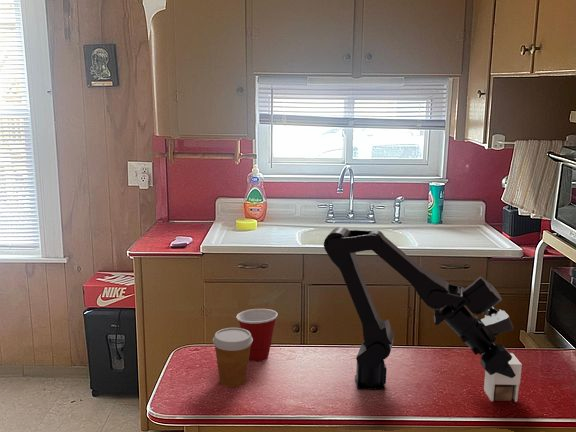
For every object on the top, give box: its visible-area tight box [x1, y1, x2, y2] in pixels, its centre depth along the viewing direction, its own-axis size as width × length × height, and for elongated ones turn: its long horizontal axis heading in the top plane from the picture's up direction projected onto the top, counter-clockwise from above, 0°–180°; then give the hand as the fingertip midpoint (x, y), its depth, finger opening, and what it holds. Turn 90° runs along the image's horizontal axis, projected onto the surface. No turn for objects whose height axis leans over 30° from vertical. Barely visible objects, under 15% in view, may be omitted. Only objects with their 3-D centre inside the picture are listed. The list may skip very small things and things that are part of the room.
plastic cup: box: [235, 308, 278, 362], centre depth 163 cm, size 11×11×12 cm
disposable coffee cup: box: [212, 327, 253, 388], centre depth 149 cm, size 10×10×12 cm
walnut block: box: [493, 384, 513, 402], centre depth 145 cm, size 4×4×4 cm
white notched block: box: [483, 352, 523, 403], centre depth 144 cm, size 6×6×10 cm
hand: (509, 370), depth 144 cm, fingers closed on white notched block, 6 cm apart
